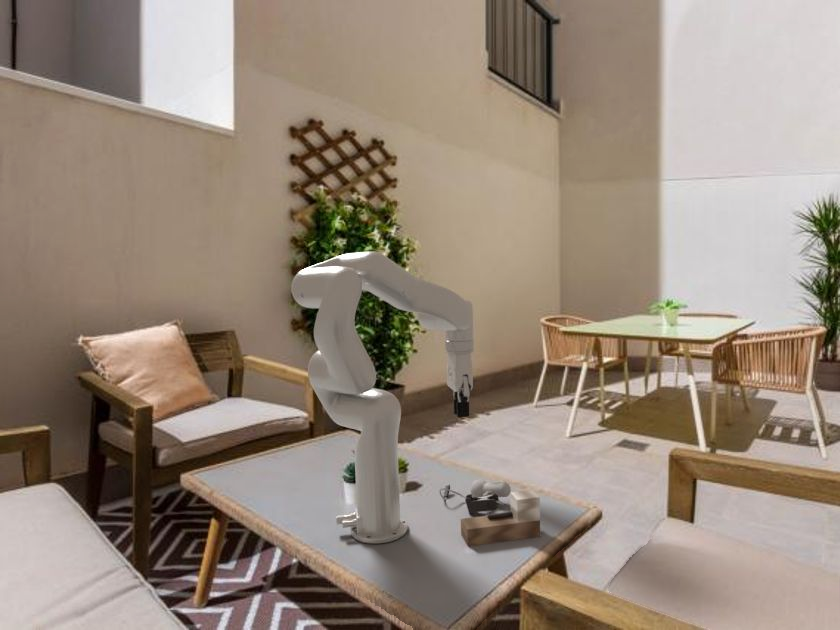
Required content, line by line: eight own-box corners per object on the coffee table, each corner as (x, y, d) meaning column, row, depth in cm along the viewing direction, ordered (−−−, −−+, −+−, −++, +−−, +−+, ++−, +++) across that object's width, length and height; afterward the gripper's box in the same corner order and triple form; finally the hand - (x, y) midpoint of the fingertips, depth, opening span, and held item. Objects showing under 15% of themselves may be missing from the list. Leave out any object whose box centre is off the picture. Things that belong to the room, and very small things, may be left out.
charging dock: (467, 546, 106) (466, 505, 106) (459, 531, 113) (458, 493, 112) (540, 536, 109) (539, 497, 109) (528, 522, 116) (527, 485, 115)
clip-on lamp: (432, 517, 127) (497, 518, 117) (425, 493, 127) (489, 491, 116) (456, 496, 136) (517, 494, 126) (449, 473, 136) (510, 469, 126)
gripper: (438, 344, 144) (440, 409, 145) (453, 351, 128) (455, 424, 129) (464, 342, 145) (466, 407, 146) (482, 349, 129) (484, 421, 130)
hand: (461, 414), depth 138 cm, fingers closed
